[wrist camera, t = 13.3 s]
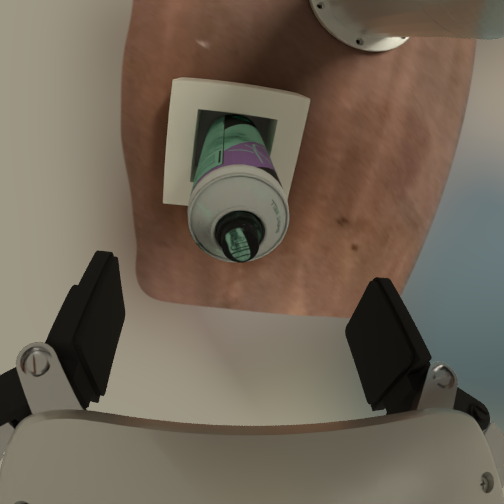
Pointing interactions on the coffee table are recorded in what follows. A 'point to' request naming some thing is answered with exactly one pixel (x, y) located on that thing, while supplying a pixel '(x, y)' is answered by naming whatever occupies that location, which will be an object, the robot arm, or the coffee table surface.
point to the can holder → (218, 104)
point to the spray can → (236, 194)
